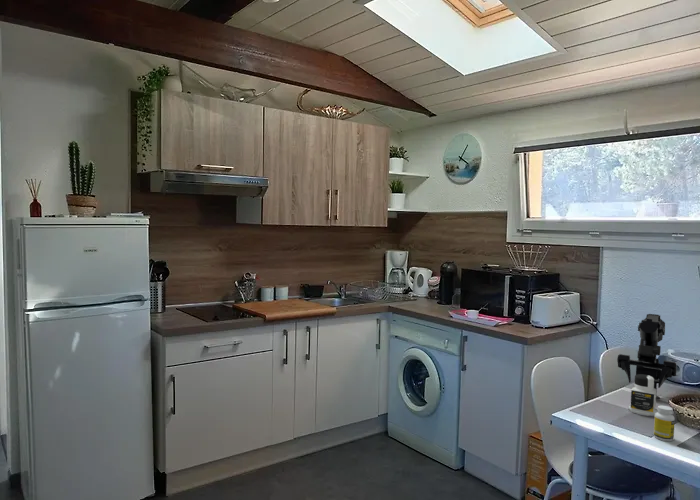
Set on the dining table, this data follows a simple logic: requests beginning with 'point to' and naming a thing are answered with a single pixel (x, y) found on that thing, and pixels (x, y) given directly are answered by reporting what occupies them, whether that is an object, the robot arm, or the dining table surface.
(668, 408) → the supplement bottle
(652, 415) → the white round dome
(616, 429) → the dining table surface
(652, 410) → the medicine bottle
